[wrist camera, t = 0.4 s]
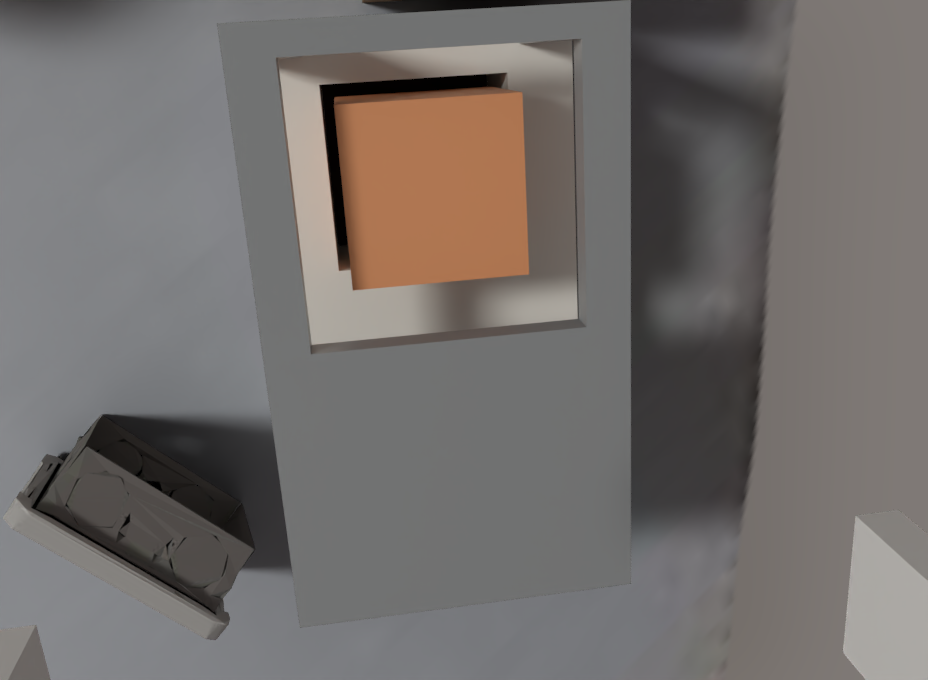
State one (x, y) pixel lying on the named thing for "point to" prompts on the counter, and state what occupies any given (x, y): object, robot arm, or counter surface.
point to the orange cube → (433, 185)
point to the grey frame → (445, 323)
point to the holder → (377, 0)
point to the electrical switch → (138, 525)
